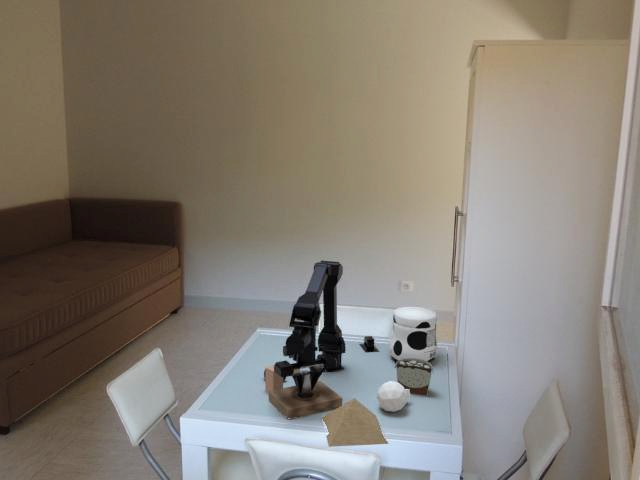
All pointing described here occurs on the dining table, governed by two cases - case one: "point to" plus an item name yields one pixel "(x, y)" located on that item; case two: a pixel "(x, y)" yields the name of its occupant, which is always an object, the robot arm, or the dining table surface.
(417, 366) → the food container
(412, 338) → the milk container
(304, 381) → the round dowel
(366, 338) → the black stepped block
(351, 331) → the dining table surface
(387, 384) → the perfume bottle
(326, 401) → the bore block
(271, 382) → the square bar
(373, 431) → the model pyramid
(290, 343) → the robot arm
